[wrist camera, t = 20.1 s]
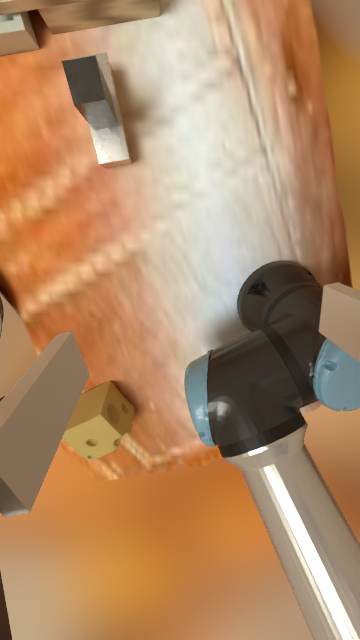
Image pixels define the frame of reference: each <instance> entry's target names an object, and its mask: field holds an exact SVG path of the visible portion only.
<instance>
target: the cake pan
mask: <svg viewBox="0 0 360 640" xmlns="http://www.w3.org/2000/svg"><path fill="white" fill-rule="evenodd" d="M2 322H3V305H2V300H1V297H0V336H1V331H2Z"/></svg>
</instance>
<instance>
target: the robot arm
mask: <svg viewBox="0 0 360 640" xmlns="http://www.w3.org/2000/svg"><path fill="white" fill-rule="evenodd" d="M237 309H238V314H239V317H240V319H241V320H242V322H243V323H244V324H245V326H246V327H247V328H248V329H249V330H250V331H251V333H249V334H246V335H244V336H242V337H240V338H238V339H236V340H234V341H232V342H230V343H228V344H225V345H223V346H221V347H219V348H217V349H215V350H210V351H208V352H207V354H205V355H203V356H201V357H199V358H198V359H196V360H194V361H192V362H191V363H190V364H189V365H188V367H187V368H186V371H185V393H186V398H187V403H188V407H189V411H190V415H191V418H192V421H193V424H194V426H195V429H196V431H197V432H198V434H199V437H200V439H201V441H202V442H203V443H204V444H205V445H207V446H212V447H213V446H216V445H217V446H218V448H219V450H220V453H221V455H222V457H223V459H224V460H225V461H227V462H229V463H231V464H233V465H235V466H237V467H238V468H239V469H240V470H241V472H242V474H243V477H244V479H245V481H246V483H247V486H248V488H249V491H250V493H251V495H252V497H253V500H254V502H255V504H256V507H257V509H258V511H259V514H260V516H261V518H262V521H263V523H264V525H265V528H266V530H267V532H268V535H269V537H270V539H271V541H272V544H273V546H274V549H275V551H276V553H277V555H278V558H279V560H280V563H281V565H282V567H283V570H284V572H285V574H286V576H287V579H288V581H289V583H290V586H291V588H292V590H293V593H294V595H295V597H296V600H297V602H298V604H299V607H300V609H301V611H302V614H303V616H304V618H305V620H306V623H307V625H308V628H309V630H310V632H311V635H312V637H313V639H314V640H360V543H359V542H358V540H357V538H356V536H355V534H354V533H353V531H352V529H351V527H350V525H349V524H348V522H347V520H346V518H345V516H344V515H343V513H342V511H341V509H340V508H339V506H338V504H337V502H336V500H335V498H334V497H333V495H332V493H331V491H330V489H329V488H328V486H327V484H326V482H325V480H324V479H323V477H322V475H321V473H320V471H319V470H318V468H317V466H316V464H315V462H314V461H313V459H312V457H311V455H310V453H309V452H308V450H307V448H306V446H305V444H304V436H305V432H306V429H307V423H306V421H305V419H304V417H303V416H302V414H301V412H300V410H299V409H300V408H301V407H304V406H306V405H309V404H311V403H314V402H316V401H318V400H319V401H320V402H321V404H322V405H324V406H327V407H328V408H330V409H332V410H336V411H341V410H343V411H351V410H355V409H358V408H360V291H359V290H356V289H354V288H351V287H349V286H346V285H344V284H341V283H333V284H327V285H324V287H323V288H322V287H321V286H320V285H319V283H318V282H317V281H316V279H315V277H314V276H313V275H312V273H311V272H310V271H308V270H307V269H306V268H304V267H302V266H300V265H298V264H295V263H293V262H288V261H277V262H272V263H269V264H266V265H264V266H262V267H260V268H259V269H257V270H256V271H255V272H253V273H252V274H251V275H250V276H249V277H248V279H247V280H246V281H245V282H244V284H243V286H242V288H241V290H240V292H239V295H238V300H237ZM88 377H89V372H88V369H87V367H86V364H85V362H84V359H83V357H82V355H81V352H80V350H79V347H78V345H77V343H76V340H75V338H74V335H73V333H72V332H66V333H61V334H57V335H56V336H55V337H54V338H53V340H52V341H51V342H50V343H49V344H48V346H47V347H46V348H45V349H44V350H43V352H42V353H41V354H40V355H39V356H38V358H37V359H36V360H35V361H34V362H33V363H32V365H31V366H30V367H29V368H28V369H27V371H26V372H25V373H24V374H23V375H22V377H21V378H20V379H19V380H18V381H17V382H16V384H15V385H14V386H13V387H12V388H11V390H10V391H9V392H8V393H7V394H6V396H3V397H2V398H1V399H0V513H1V514H3V516H4V517H9V516H14V515H19V514H25V513H30V511H31V509H32V506H33V504H34V502H35V499H36V497H37V495H38V493H39V490H40V488H41V486H42V483H43V481H44V479H45V476H46V474H47V472H48V469H49V467H50V465H51V462H52V460H53V458H54V455H55V453H56V451H57V448H58V446H59V444H60V442H61V439H62V437H63V435H64V432H65V430H66V428H67V425H68V423H69V421H70V418H71V416H72V414H73V411H74V409H75V407H76V404H77V402H78V400H79V398H80V395H81V393H82V391H83V388H84V386H85V384H86V381H87V379H88ZM0 640H12V636H11V630H10V624H9V618H8V613H7V607H6V601H5V595H4V590H3V584H2V579H1V573H0Z"/></svg>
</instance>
